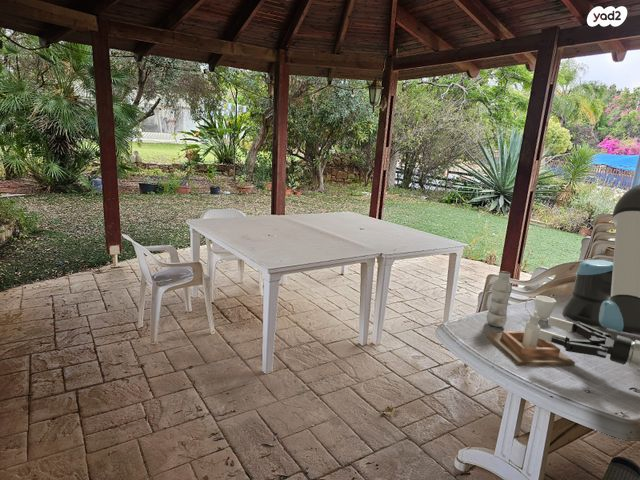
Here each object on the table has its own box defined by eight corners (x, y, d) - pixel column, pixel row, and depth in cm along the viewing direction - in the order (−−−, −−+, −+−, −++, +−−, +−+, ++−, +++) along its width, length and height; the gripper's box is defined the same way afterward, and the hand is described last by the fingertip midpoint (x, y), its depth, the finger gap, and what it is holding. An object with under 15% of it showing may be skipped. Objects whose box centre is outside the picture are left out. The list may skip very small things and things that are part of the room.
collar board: (536, 337, 138) (538, 327, 137) (574, 365, 120) (576, 354, 119) (486, 336, 135) (488, 326, 134) (518, 365, 118) (520, 354, 117)
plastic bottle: (507, 330, 141) (517, 276, 137) (487, 327, 143) (496, 274, 138) (502, 323, 147) (512, 271, 143) (483, 320, 149) (492, 268, 144)
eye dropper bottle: (519, 347, 126) (526, 312, 124) (522, 341, 131) (530, 307, 128) (534, 352, 124) (542, 316, 121) (537, 346, 128) (545, 311, 126)
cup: (551, 324, 150) (555, 303, 148) (522, 316, 155) (526, 296, 153) (552, 318, 156) (557, 298, 154) (524, 310, 161) (528, 291, 159)
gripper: (623, 382, 102) (532, 352, 115) (628, 349, 121) (549, 326, 134) (631, 356, 100) (537, 328, 113) (634, 326, 119) (554, 305, 132)
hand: (544, 326), depth 124 cm, fingers open, 13 cm apart
